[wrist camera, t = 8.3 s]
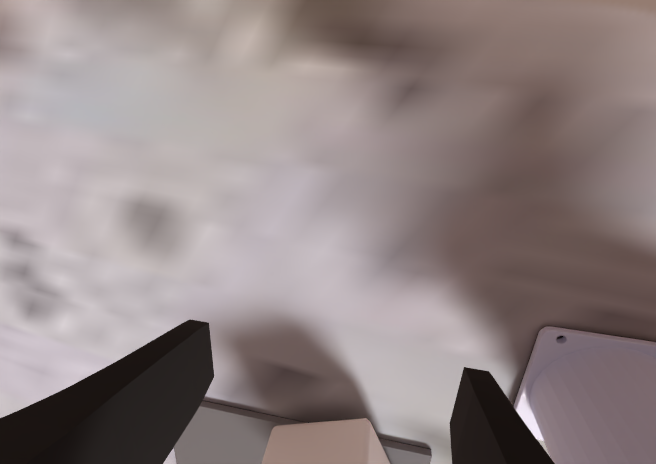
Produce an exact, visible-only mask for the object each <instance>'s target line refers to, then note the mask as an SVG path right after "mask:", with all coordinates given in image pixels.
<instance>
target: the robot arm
mask: <svg viewBox="0 0 656 464" xmlns="http://www.w3.org/2000/svg"><path fill="white" fill-rule="evenodd" d="M558 336H563V338H561V339H556V338H557V337H558ZM213 378H214V370H213V360H212V350H211V340H210V330H209V323H207V322H201V321H195V320H188V321H186V322H184V323H182V324H181V325H179V326H177V327H175V328H174V329H172V330H170V331H168V332H167V333H165V334H163V335H162V336H160V337H158V338H156V339H155V340H153V341H151V342H150V343H148V344H146V345H144V346H143V347H141V348H139V349H138V350H136V351H134V352H132V353H131V354H129V355H127V356H125V357H124V358H122V359H120V360H118V361H117V362H115V363H113V364H111V365H109V366H107V367H106V368H104V369H102V370H100V371H98V372H96V373H94V374H92V375H91V376H89V377H87V378H85V379H83V380H81V381H79V382H77V383H76V384H74V385H72V386H70V387H68V388H66V389H64V390H62V391H60V392H58V393H56V394H54V395H51V396H49V397H47V398H45V399H43V400H41V401H39V402H36V403H34V404H32V405H30V406H28V407H25V408H23V409H21V410H19V411H17V412H14V413H12V414H10V415H7V416H5V417H2V418H0V464H163V463H164V461H165V460H166V458H167V457H168V455H169V453H170V452H171V450H172V449H173V447H174V446H175V444H176V443H177V441H178V440H179V438H180V437H181V435H182V434H183V432H184V430H185V429H186V427H187V426H188V424H189V423H190V421H191V420H192V418H193V416H194V415H195V413H196V412H197V410H198V408H199V406H200V404H201V402H202V400H203V398H204V396H205V394H206V392H207V390H208V388H209V386H210V384H211V382H212V380H213ZM450 435H451V451H452V464H656V342H651V341H645V340H638V339H631V338H625V337H618V336H611V335H605V334H598V333H591V332H585V331H578V330H571V329H565V328H558V327H544V328H543V329H541V330H540V332H539V334H538V337H537V340H536V343H535V345H534V348H533V351H532V354H531V357H530V360H529V363H528V366H527V369H526V371H525V374H524V377H523V380H522V383H521V386H520V389H519V392H518V395H517V398H516V400H515V403H514V406H512V404H511V403H510V401H509V400H508V398H507V397H506V395H505V394H504V392H503V391H502V389H501V388H500V387H499V385H498V384H497V382H496V381H495V379H494V378H493V376H492V375H491V374H490V372H489V371H483V370H477V369H471V368H466V367H464V370H463V374H462V378H461V382H460V385H459V389H458V393H457V397H456V401H455V405H454V409H453V413H452V417H451V421H450ZM537 440H542V441H544V442H545V445H546V447H547V450H548V452H549V455H550V457H551V458H550V457H549V455H548V454H547V453H546V451H545V450H544V449H543V447H542V446H541V445H540V443H539V442H538V441H537Z"/></svg>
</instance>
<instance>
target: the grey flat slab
mask: <svg viewBox="0 0 656 464" xmlns="http://www.w3.org/2000/svg"><path fill="white" fill-rule="evenodd" d="M303 423H305V422H300V421H295V420H290V419H286V418H281V417H276V416H272V415H267V414H262V413H258V412H253V411H248V410H244V409H239V408H234V407H229V406H225V405H220V404H215V403H211V402H206V401H202V402H201V404H200V406H199V408H198V410H197V412H196V413H195V415H194V416H193V418H192V420H191V421H190V423H189V424H188V426H187V427H186V429H185V430H184V432H183V434H182V435H181V437H180V438H179V440H178V441H177V443H176V444H175V446H174V451H175V456H176V462H177V464H262V460H263V457H264V454H265V451H266V447H267V444H268V441H269V438H270V435H271V431H272V429H273V428H274V427H275V426H279V425H291V424H303ZM378 439H379V441H380V443H381V445H382V447H383V450H384V452H385V454H386V456H387V458H388V460H389V462H390V464H430V461H431V457H432V455H431V449H427V448H422V447H417V446H412V445H408V444H403V443H398V442H394V441H389V440H384V439H380V438H378Z"/></svg>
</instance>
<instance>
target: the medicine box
mask: <svg viewBox="0 0 656 464" xmlns="http://www.w3.org/2000/svg"><path fill="white" fill-rule="evenodd" d="M262 464H390V462H389V460H388V458H387V456H386V454H385V452H384V450H383V447H382V445H381V443H380V441H379V439H378V437H377V435H376V433H375V431H374V429H373V427H372V425H371V423H370V421H369V420H368V419H365V418H362V419H351V420H339V421H327V422H315V423H303V424H291V425H279V426H275V427H274V428H273V429H272V431H271V435H270V438H269V441H268V444H267V447H266V451H265V454H264V457H263V460H262Z"/></svg>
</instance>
